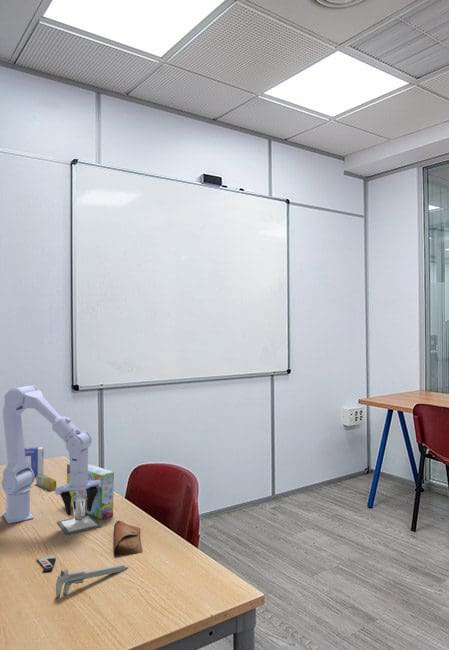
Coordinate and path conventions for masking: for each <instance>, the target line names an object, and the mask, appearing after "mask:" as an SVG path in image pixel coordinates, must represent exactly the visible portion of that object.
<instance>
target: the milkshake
mask: <svg viewBox="0 0 449 650" xmlns="http://www.w3.org/2000/svg"><path fill="white" fill-rule="evenodd" d="M87 496H88V494H87ZM87 496H85V495H83V494H82V495H80V494H79V495H76V496H74V497H73V499H72V502H73V507H72V510H73V511H72V512H73V518H74V524H75V525H82V524H84V523H85V515H87V513H86V502H87Z"/></svg>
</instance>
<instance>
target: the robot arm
mask: <svg viewBox="0 0 449 650" xmlns="http://www.w3.org/2000/svg"><path fill="white" fill-rule="evenodd" d="M3 397H4V405H3V407H2V417H3V420H2V421H3V427H4V435H5V436H4V437H5V445H6V447H5V448H6V455H7V465H6V467H5V468H4V469H3V471H2V480H1V487H2V490H3V492H4V493H5V512H2V516H3V517H4V519H5V521H6V522H7V524H12V523H17V522H22V521H28V520H32V519H34V516H33V514H32V513H31V488H32V484H33V483H34V481H35V480H36V479H35V476H34V472H33V471H32V468H31V464H30V463H29V462H27V461H26V458H25V449H24V448H25V440H24V432H23V431H24V430H23V423H22V422H23V421H22V414H23V413H24V412H25V410H26V409H34V410H35V411H36V412H38V413H39V414H40V415H41V416H42V417H44V418H45V419H46V420H47V421H48V422H50V423H51V428H52V431H53V432H55V434H57V436H59V438H60V439H61V440H62V441H63V442H64V443H65V449H66V450H67V452H68V457H69V463H70V484H67V483H66V484H63V485H61V486H56V487H55V490H54V493H55V495H56V496H59V495H60V498H61V500H62V501H63V503H64V507H65V511H66V515H67V516H69V517H70V516H71V515H72V509H71V508H72V507H71V497H72V496H71V495H70V493H69V492H73V491H78V490H84V489H86V493H87V494H88V496H87V510H88V511H91V508H92V504H93V501H94V499H95V496H96V495H97V493H98V489H97V487H102V481H101V480H90V481H88V464H89V447H90V446H91V445H92V437H91V435H90V434H89V433H88V432H87V431H85V430H81V429H80V428H78V427H77V426H76V425H75V424H74V423H73V422H72V419H71V418H70V417H67V416H65V415H63V416H60V414H59V413H58V412H57V410H55V409H54V407H53V406H52V404H50V403H49V401H47V399H46V398H45V397H44V395H43V392H42V391H41V390H39V389H38V387H37V386H36V385H34V384H27V385H25V386H21V387H12V388H10V389H9V390H8V391H7V392H6V393H5V394H4V396H3Z"/></svg>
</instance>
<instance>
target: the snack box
mask: <svg viewBox="0 0 449 650" xmlns="http://www.w3.org/2000/svg"><path fill="white" fill-rule="evenodd" d="M90 480H101V481H102V487H97V489H98V493H97V495H96V496H95V499H94V501H93V504H92V508H91V511H88V510H87V502H86V515H91V516H92V517H95V518H97V519H99V520H103V519H106V518H109V517H113V516H114V491H115V490H114V489H115V488H114V487H115V486H114V485H115V484H114V483H115V472H114V471H112V470H109V469H106V468H102V467H99V466H96V465H93V464H89V463H88V481H90ZM66 484H70V462H69V463H67V464H66ZM69 493H70V495H71V496H72V497H71V508H73V502H72V499H73V497H74V496H76V495H79V494H80V495H82V494H83V495H85V496H87V493H86V489H84V490H78V491H73V492H69Z"/></svg>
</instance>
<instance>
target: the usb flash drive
mask: <svg viewBox="0 0 449 650" xmlns="http://www.w3.org/2000/svg"><path fill="white" fill-rule="evenodd" d="M56 559H57V555H49V556H48V558H47V557H45V556H41V557H37V558H36V561H39V563H40V564H41V565H42V566H43V570H42V573H52V572H53V570H54V566H55V564H56V561H57V560H56Z"/></svg>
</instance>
